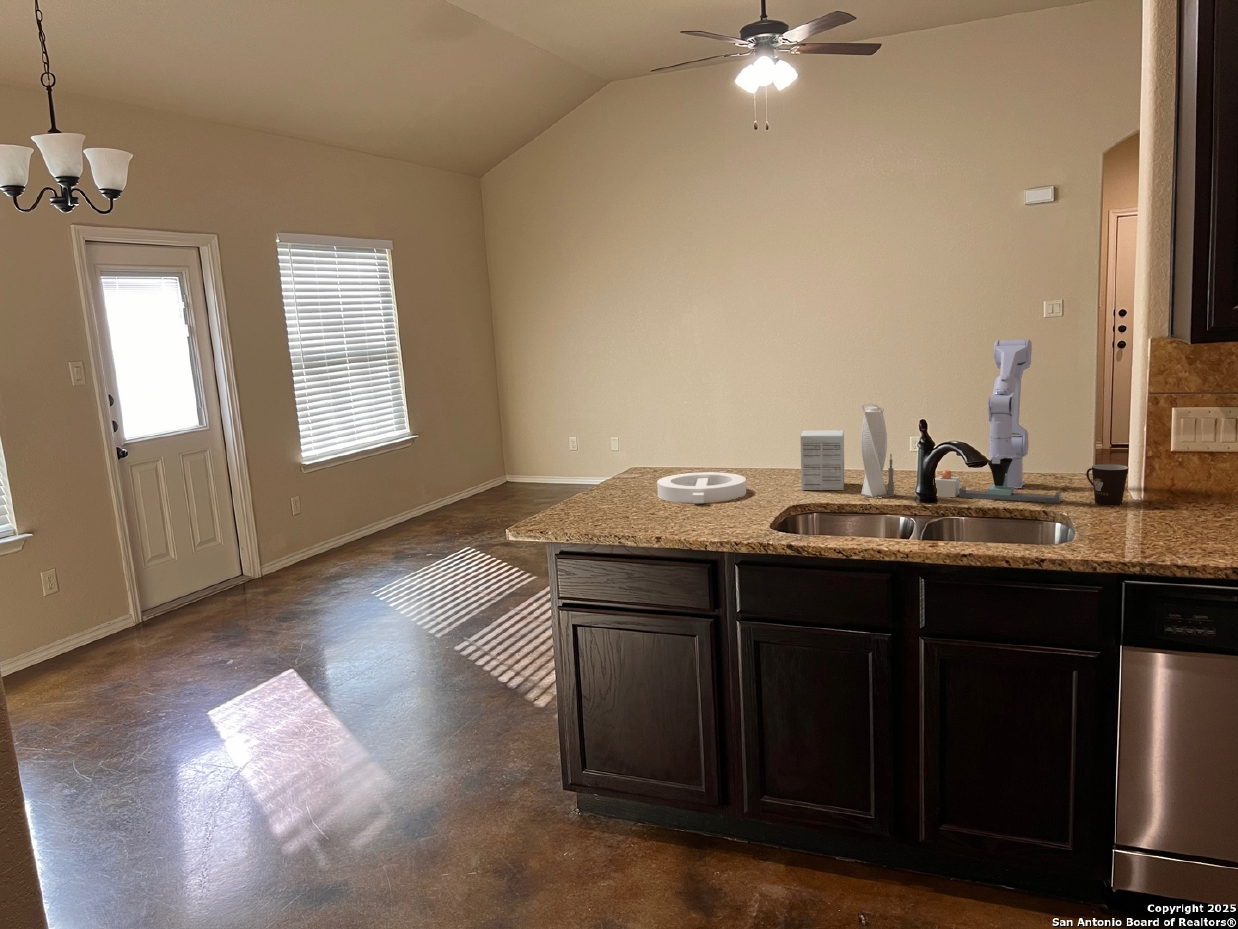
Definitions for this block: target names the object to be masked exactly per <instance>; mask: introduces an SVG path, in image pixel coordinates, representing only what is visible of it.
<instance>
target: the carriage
mask: <svg viewBox="0 0 1238 929" xmlns="http://www.w3.org/2000/svg"><path fill="white" fill-rule="evenodd" d="M1007 482H1008V474H1005V479H1004V484H1003V486H995V485H994V484H993V485H990V486H989V488H988V489H987V491H988V494H995V495H1011V494H1012V493H1015V488H1014V487H1013V486H1007Z"/></svg>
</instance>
